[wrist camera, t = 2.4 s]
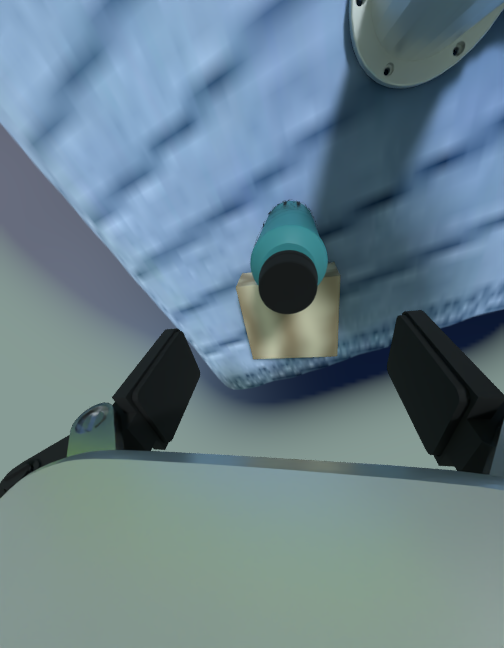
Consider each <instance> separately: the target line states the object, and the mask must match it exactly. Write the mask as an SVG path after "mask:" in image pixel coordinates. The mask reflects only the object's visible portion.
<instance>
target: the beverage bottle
mask: <svg viewBox="0 0 504 648" xmlns="http://www.w3.org/2000/svg"><path fill="white" fill-rule="evenodd" d="M273 208H274V209H273ZM273 208H272V211H270V212H269V216H268V218H267V220H266V219H265V220H266V223H264V224H263V227H262V228H263V229H262V232H260V233H261V234H260V236H259V237H258V236H257V237H258V241H257V243H256V242H255V243H256V245H255V244H254V245H255V247H254V249H253V252H252V255H251V262H250V265H251V272H252V275H253V278H254V280H255V282H256V283H257V285H258V286H259V287H258V289H259V295H260V297H261V299H262V301H263V303H264V304H265V305H266V306H267V307H268V308H269V309H271V310H272V311H274V312H277V313H280V314H294V313H298V312H301V311H302V310H304V309H306V308H307V307H308V306H309V305H310V304H311V303H312V302H313V300H314V299H315V296H316V294H317V288H318V285H319V284H320V283H321V281H322V280H323V278H324V276H325V273H326V270H327V265H328V256H327V251H326V248H325V245H324V243H323V241H322V240H321V238H320V236H319V234H318V231H317V228H316V225H315V223H314V220H313V217H314V216H313V217H312V215H311V213H310V211H309V210H310V209H309V210H308V209H307V207H305V206H304V205H303V204H301V203H300V202H299V201H298V202H297V201H296V202H295V201H285V202H284V201H283V203H281V204H277V206H275V207H273ZM264 222H265V221H264ZM315 222H316V221H315ZM258 235H259V234H258ZM256 240H257V239H256Z"/></svg>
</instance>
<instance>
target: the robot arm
mask: <svg viewBox="0 0 504 648" xmlns="http://www.w3.org/2000/svg"><path fill="white" fill-rule="evenodd" d="M357 1H358V0H350V2H349V26H350V36H351V40H352V45H353V49H354V52H355V54H356V57H357V59H358V61H359V64H360V65H361V67H362V68H363V70H364V71H365V72H366V74H367V75H368V76H369V77H370V78H372V79H373V80H374V81H375V82H377V83H379V84H381V85H384V86H386V87H388V88H398V89H403V88H409V87H415V86H418V85H420V84H423V83H425V82H428V81H430V80H432V79H433V78H435V77H437V76H439V75H440V74H442V73H444V72H445V71H446V70H448V69H449V68H451V67H452V66H453V65H455V64H456V63H458V62H459V61H460V60H461V59H462V58H463V57H464V56H465V55H466V54H467V53H468V52H470V51H471V50H472V49H473V48H474V47H475V45H476V44H477V43H478V42H479V41H480V40H481V39H482V37H483V36H484V35H485V34H486V33H487V32H488V30H489V29H490V28H491V26H492V25H493V23H494V22H495V21H496V19H497V18H498V16H499V15H500V14H501V12H502V11H503V9H504V0H361V1H362V5H361V6H358V5H357V4H356V2H357ZM453 49H455V50H456V53H455V56H454V55H453ZM385 69H387V70H388V75H387V76H385V75H384V70H385ZM387 370H388V374H389V376H390V378H391V380H392V382H393V384H394V386H395V388H396V390H397V392H398V394H399V396H400V398H401V400H402V402H403V404H404V406H405V408H406V410H407V412H408V415H409V417H410V419H411V421H412V423H413V424H414V427H415V429H416V431H417V433H418V435H419V437H420V439H421V441H422V443H423V445H424V447H425V449H426V451H427V452H428V454H430V455H434V457H435V459H436V461H437V463H438V465H439V466H454V467H455V468H456V470H457V471H453V470H442V469H429V468H417V467H405V466H392V465H377V464H362V463H346V462H330V461H314V460H299V459H283V458H267V457H250V456H232V455H215V454H196V453H178V452H160V451H151V449H152V447H153V448H154V449H161V450H165V449H166V447H167V445H168V442H170V441H171V440H172V439H173V437H174V435H175V432H176V430H177V428H178V425H179V423H180V421H181V418H182V416H183V414H184V412H185V410H186V407H187V405H188V403H189V400H190V398H191V396H192V393H193V391H194V389H195V387H196V384H197V382H198V380H199V377H200V370H199V368H198V365H197V363H196V361H195V359H194V356H193V354H192V352H191V349H190V347H189V345H188V343H187V340H186V338H185V335H184V333H183V332H182V331H180V330H179V329H167V330H165V331H164V332H163V333H162V334H161V336H160V337H159V338H158V340H157V341H156V342H155V343H154V345H153V346H152V347H151V348H150V350H149V351H148V352H147V354H146V355H145V356H144V357H143V359H142V360H141V361H140V362H139V364H138V365H137V366H136V368H135V369H134V370H133V371H132V373H131V374H130V375H129V376H128V378H127V379H126V380H125V382H124V383H123V384H122V385H121V387H120V388H119V389H118V390H117V392H116V393H115V394H114V396H113V397H112V398H113V399H114V401H115V403H114V404H113V405H111V404H110V403H105V402H104V403H100V404H97V405H94V406H92V407H91V408H89V409H87V410H86V411H85V412H83V413H82V414H81V415H80V416H79V417H78V418H77V419H76V420H75V422H74V423H73V425H72V427H71V430H70V435H69V436H67V437H65V438H64V439H62V440H60V441H59V442H57V443H55V444H53V445H52V446H50V447H48V448H46V449H45V450H43V451H41V452H40V453H38V454H36V455H35V456H33V457H31V458H29V459H28V460H26V461H24V462H23V463H21V464H20V465H18V466H17V467H15V468H14V469H12V470H11V471H10V472H9V473H8V474H7V475H6V476H5V477H4V479H3V480H2V481H1V483H0V648H504V394H503V393H502V392H501V391H500V390H499V389H498V388H497V387H496V386H495V385H494V384H493V383H492V382H491V381H490V380H489V379H488V378H487V377H486V376H485V375H484V374H483V373H482V372H481V371H480V369H479V368H478V367H477V366H476V365H475V364H474V363H473V362H472V361H471V360H470V359H469V358H468V357H467V356H466V355H465V354H464V353H463V352H462V351H461V350H460V349H459V348H458V347H457V346H456V345H455V344H454V343H453V342H452V341H451V340H450V338H448V336H447V335H445V333H444V332H443V331H442V330H441V329H440V328H439V327H438V326H437V325H436V324H435V323H434V322H433V321H432V320H431V319H430V318H429V317H428V316H427V314H426V313H425V312H423V311H422V310H418V311H405V312H403V313H402V315H400V316H398V317H397V320H396V324H395V329H394V334H393V339H392V344H391V349H390V353H389V359H388V363H387Z"/></svg>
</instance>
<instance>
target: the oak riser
mask: <svg viewBox="0 0 504 648" xmlns="http://www.w3.org/2000/svg"><path fill="white" fill-rule="evenodd" d="M258 287H259V286H258V285H257V283H256V282H255V280H254V278H253V275H252V272H251V273H243V274H242V275H241V277H240V279H239V282H238V284H237V286H236V290H237V294H238V298H239V302H240V306H241V310H242V314H243V319H244V323H245V327H246V331H247V335H248V339H249V343H250V347H251V351H252V355H253V359H273V358H302V357H331V356H337V348H338V323H339V297H340V274H339V272H338V269H337V267H336V265H335V263H334V262H332V263H328V265H327V270H326V273H325V276H324V278H323V280H322V281H321V283H320V284H319V285H318V288H317V294H316V296H315V299H314V300H313V302H312V303H311V304H310V305H309V306H308V307H307V308H306V309H304V310H302V311H301V312H298V313H294V314H280V313H277V312H274V311H272V310H271V309H269V308H268V307H267V306H266V305H265V304H264V303H263V301H262V299H261V297H260V295H259V289H258Z"/></svg>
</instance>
